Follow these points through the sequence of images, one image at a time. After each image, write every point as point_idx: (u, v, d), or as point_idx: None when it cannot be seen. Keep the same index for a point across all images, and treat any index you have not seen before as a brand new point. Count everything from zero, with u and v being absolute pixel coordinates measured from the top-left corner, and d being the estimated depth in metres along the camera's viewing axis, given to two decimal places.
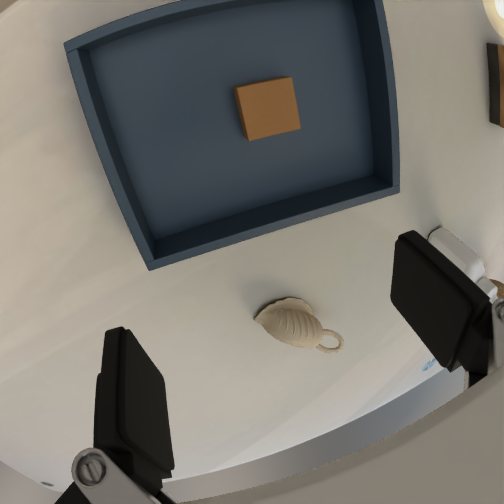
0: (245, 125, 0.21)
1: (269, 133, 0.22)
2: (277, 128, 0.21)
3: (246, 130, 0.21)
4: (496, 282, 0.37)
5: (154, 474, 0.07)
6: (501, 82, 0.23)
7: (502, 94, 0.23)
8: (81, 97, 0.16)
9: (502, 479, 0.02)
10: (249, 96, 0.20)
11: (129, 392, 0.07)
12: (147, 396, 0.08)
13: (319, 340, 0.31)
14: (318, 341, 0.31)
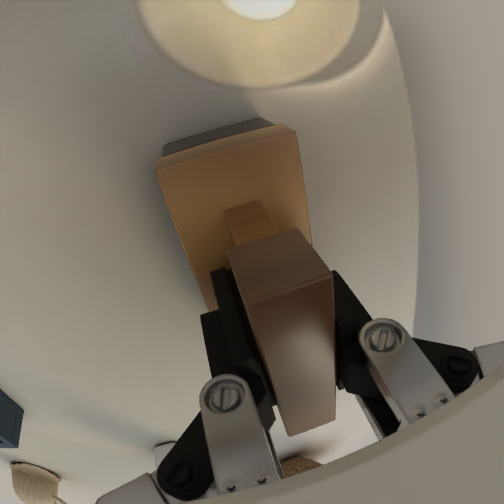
0: None
1: None
2: None
3: None
4: None
5: None
6: None
7: None
8: None
9: (502, 479, 0.02)
10: None
11: None
12: None
13: None
14: None
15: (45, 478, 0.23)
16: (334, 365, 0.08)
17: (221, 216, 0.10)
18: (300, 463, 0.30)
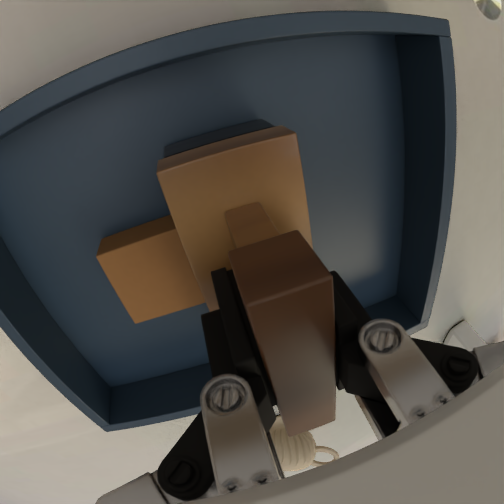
0: (124, 304, 0.13)
1: (163, 312, 0.14)
2: (174, 304, 0.14)
3: (128, 310, 0.14)
4: None
5: None
6: None
7: None
8: None
9: (502, 479, 0.02)
10: (118, 266, 0.12)
11: None
12: None
13: (312, 460, 0.24)
14: (310, 463, 0.24)
15: None
16: (334, 366, 0.08)
17: (222, 217, 0.10)
18: None
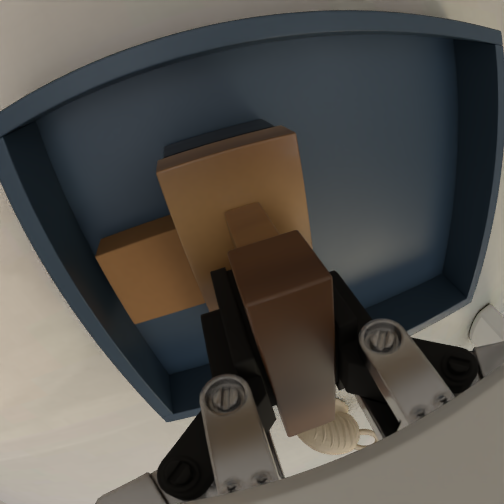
0: (123, 305, 0.13)
1: (163, 312, 0.14)
2: (174, 305, 0.14)
3: (127, 311, 0.14)
4: None
5: (270, 404, 0.08)
6: None
7: None
8: (26, 228, 0.09)
9: (502, 479, 0.02)
10: (117, 267, 0.12)
11: None
12: None
13: (356, 443, 0.24)
14: (355, 446, 0.24)
15: (344, 412, 0.27)
16: (334, 366, 0.08)
17: (221, 217, 0.10)
18: None
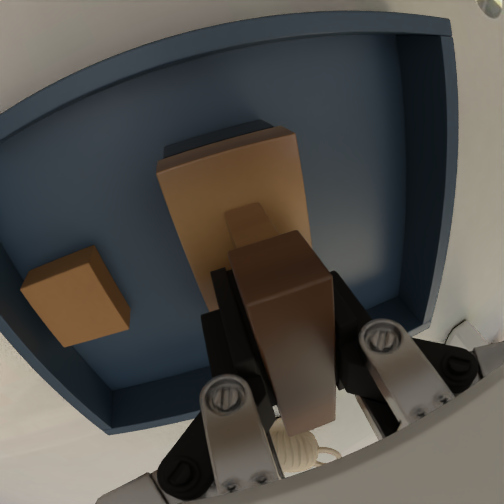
0: (51, 330, 0.13)
1: (85, 338, 0.14)
2: (93, 332, 0.13)
3: (55, 335, 0.13)
4: None
5: None
6: None
7: None
8: None
9: (502, 479, 0.02)
10: (39, 298, 0.12)
11: None
12: None
13: (314, 461, 0.24)
14: (312, 464, 0.23)
15: None
16: (334, 366, 0.08)
17: (221, 218, 0.10)
18: None
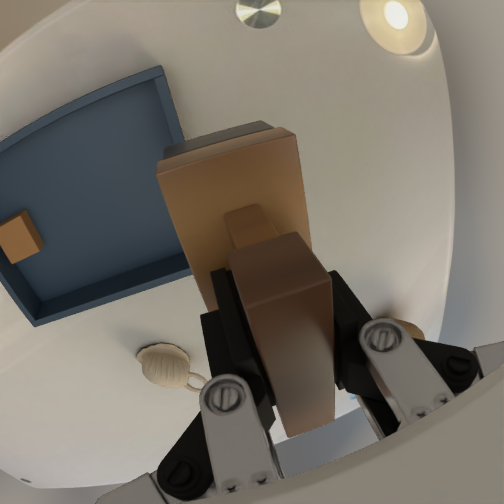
0: (6, 254, 0.24)
1: (21, 258, 0.24)
2: (24, 253, 0.24)
3: (8, 257, 0.24)
4: (406, 326, 0.40)
5: (270, 404, 0.08)
6: None
7: None
8: None
9: (502, 479, 0.02)
10: (0, 235, 0.23)
11: None
12: None
13: (183, 382, 0.34)
14: (180, 383, 0.34)
15: (179, 357, 0.37)
16: (333, 367, 0.08)
17: (221, 219, 0.10)
18: None
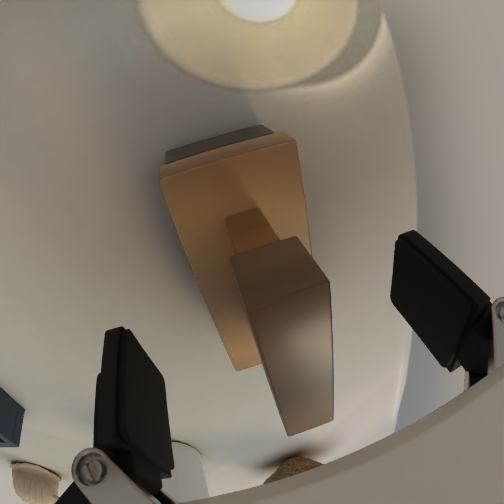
0: None
1: None
2: None
3: None
4: None
5: (154, 474, 0.07)
6: None
7: None
8: None
9: (502, 479, 0.02)
10: None
11: (129, 392, 0.07)
12: (147, 396, 0.08)
13: None
14: None
15: (45, 478, 0.23)
16: (332, 367, 0.08)
17: (223, 223, 0.10)
18: (300, 462, 0.30)
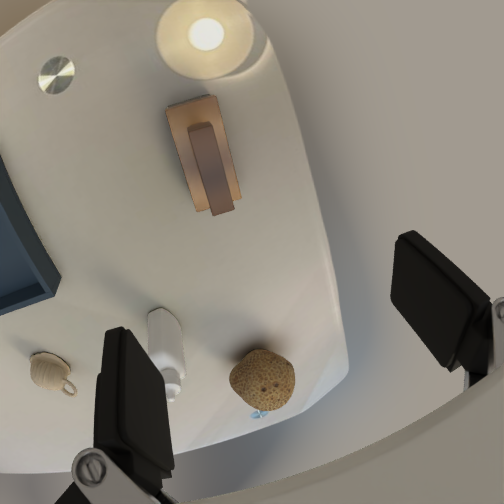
0: None
1: None
2: None
3: None
4: (267, 360, 0.41)
5: (154, 474, 0.07)
6: None
7: None
8: None
9: (502, 479, 0.02)
10: None
11: (129, 392, 0.07)
12: (147, 396, 0.08)
13: (56, 386, 0.36)
14: (54, 387, 0.35)
15: (58, 365, 0.38)
16: (222, 165, 0.23)
17: (188, 127, 0.25)
18: (259, 350, 0.44)
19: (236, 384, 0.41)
